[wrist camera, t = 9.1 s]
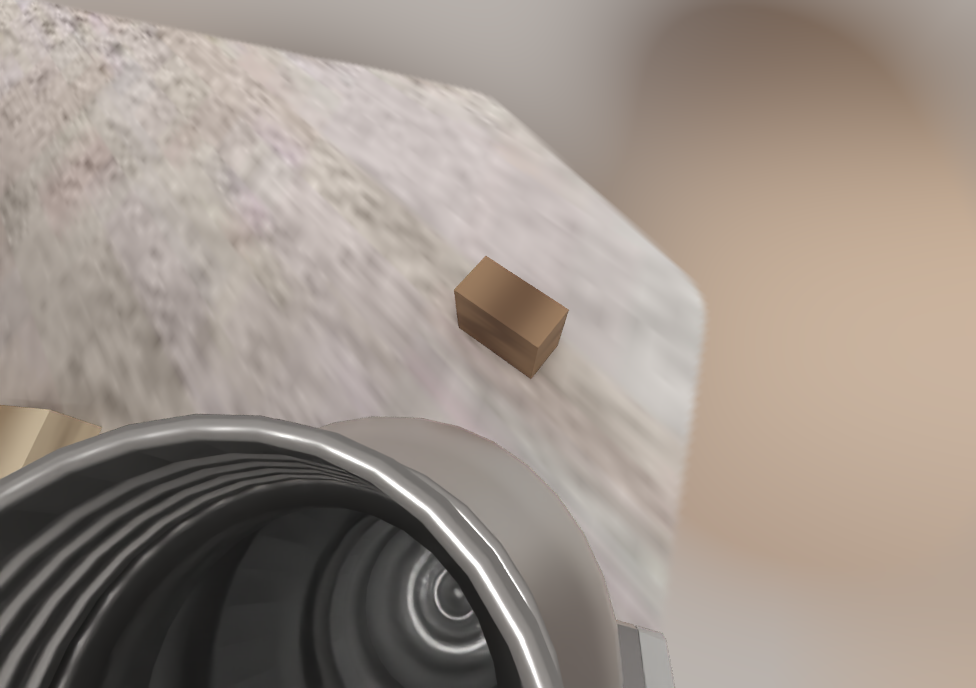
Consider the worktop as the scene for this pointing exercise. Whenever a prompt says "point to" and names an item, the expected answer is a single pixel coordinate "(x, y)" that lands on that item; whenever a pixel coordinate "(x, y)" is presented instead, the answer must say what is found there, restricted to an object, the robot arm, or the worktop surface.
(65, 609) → the plastic bottle
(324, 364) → the worktop surface
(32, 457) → the beech brick
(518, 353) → the walnut brick
